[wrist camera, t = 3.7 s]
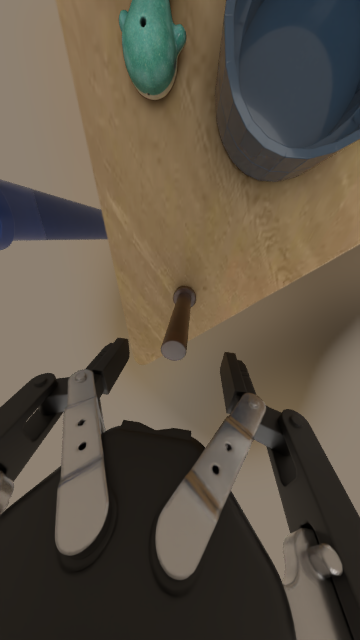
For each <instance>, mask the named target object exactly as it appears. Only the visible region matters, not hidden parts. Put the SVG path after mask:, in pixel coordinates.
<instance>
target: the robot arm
mask: <svg viewBox="0 0 360 640" xmlns="http://www.w3.org/2000/svg"><path fill="white" fill-rule="evenodd" d="M128 359H129V343H128V339H124V338H117V339H116V341H115V342H114V343H110V344H108V345H107V346H105V347H104V348H103V349H102V350H101V352H100V353H99V354H98V356H96V357H95V359H94V360H93V361H92V362H91V363H90V364H89V365H88V367H87V368H86V369H84V370H80V371H77V372H75V373H74V374H72V375H71V376H70V377H67V378H59V379H56V377H55V376H54V374H52V373H45V374H41V375H38V376H36V377H35V378H33V379H31V380H30V381H29V382H28V383H27V384H26V385H25V386H24V387H22V389H20V390H19V391H18V392H17V393H16V394H15V395H14V396H12V398H10V399H9V400H8V401H7V402H6V403H5V404H4V405H3V406H1V407H0V640H360V517H359V515H358V513H357V512H356V510H355V508H354V506H353V504H352V502H351V500H350V499H349V497H348V495H347V493H346V491H345V489H344V487H343V486H342V484H341V482H340V480H339V478H338V476H337V475H336V473H335V471H334V469H333V467H332V465H331V464H330V462H329V460H328V458H327V456H326V454H325V453H324V450H323V449H322V447H321V445H320V443H319V441H318V439H317V438H316V436H315V434H314V432H313V430H312V428H311V426H310V425H309V423H308V421H307V420H306V419H305V418H304V417H303V416H302V415H301V414H299V413H298V412H295V411H294V410H289V409H286V410H283V412H282V413H281V412H279V411H276V410H274V409H271V408H269V407H268V406H266V405H265V403H264V402H263V400H262V399H261V398H259V397H258V396H257V395H256V393H255V390H254V387H253V384H252V382H251V379H250V377H249V374H248V371H247V368H246V366H245V364H244V363H243V362H242V361H240V360H237V358H236V355H235V354H234V353H229V352H225V353H224V356H223V360H222V363H221V367H220V374H221V381H222V387H223V394H224V399H225V406H226V413H228V414H230V415H229V417H228V416H227V417H226V419H225V420H224V421H223V423H222V425H221V426H220V427H219V429H218V430H217V432H216V433H215V435H214V437H213V438H212V439H211V441H210V442H209V444H208V445H207V447H206V448H205V447H204V446H203V445H202V444H201V443H200V442H199V441H197V440H196V439H194V438H193V437H191V431H189V430H183V429H176V428H171V429H164V430H154V429H152V428H150V427H148V426H146V425H144V424H142V423H139V422H133V421H127V420H123V422H122V425H121V426H117V427H114V428H111V429H109V430H107V431H105V426H104V421H103V414H102V408H101V402H100V397H101V395H102V394H109V392H110V390H111V389H112V387H113V385H114V384H115V382H116V380H117V378H118V377H119V375H120V373H121V372H122V370H123V368H124V366H125V365H126V363H127V361H128ZM37 408H38V409H37ZM36 409H37V410H36ZM35 410H36V412H35ZM33 412H35V413H34V414H33ZM63 412H64V418H63V420H64V421H63V441H62V463H61V466H60V467H59V468H58V469H56V470H55V471H54V472H53V473H51V474H50V475H49V476H48V477H46V478H45V479H44V480H43V481H41V482H40V483H39V484H38V485H36V486H35V487H34V488H33V489H31V490H30V491H29V492H27V493H26V494H25V495H24V496H22V497H21V498H20V499H19V500H17V501H16V502H15V503H14V504H12V505H11V506H10V507H9V508H8V509H6V507H7V506H8V504H9V499H10V497H11V495H12V493H13V490H14V483H13V482H14V480H15V479H16V478H17V476H18V475H19V473H20V472H21V471H22V469H23V468H24V466H25V465H26V464H27V462H28V461H29V459H30V458H31V457H32V455H33V454H34V452H35V451H36V450H37V448H38V447H39V445H40V444H41V443H42V441H43V440H44V438H45V437H46V436H47V434H48V433H49V431H50V430H51V429H52V427H53V425H54V424H55V423H56V422H57V420H58V419H59V417H60V416H61V415H62V413H63ZM32 414H33V415H32ZM31 415H32V416H31ZM30 416H31V417H30ZM29 417H30V418H29ZM28 418H29V420H28ZM27 420H28V421H27ZM26 421H27V422H26ZM253 440H256V441H258V442H260V443H262V444H264V445H266V447H267V450H268V454H269V457H270V461H271V465H272V468H273V472H274V476H275V479H276V483H277V486H278V490H279V494H280V497H281V501H282V504H283V508H284V512H285V515H286V519H287V523H288V526H289V530H290V534H289V535H287V536H286V538H285V540H284V544H283V553H284V560H285V574H284V578H283V580H282V581H281V579H280V576H279V574H278V572H277V570H276V568H275V566H274V564H273V562H272V560H271V559H270V557H269V555H268V553H267V552H266V550H265V548H264V546H263V545H262V543H261V541H260V540H259V538H258V536H257V535H256V533H255V531H254V530H253V528H252V526H251V524H250V522H249V521H248V519H247V517H246V516H245V514H244V513H243V510H242V509H241V507H240V505H239V504H238V502H237V500H236V498H235V497H234V495H233V493H232V492H231V489H232V486H233V484H234V482H235V480H236V477H237V475H238V473H239V471H240V469H241V467H242V464H243V462H244V460H245V458H246V455H247V453H248V451H249V449H250V447H251V444H252V442H253ZM5 509H6V510H5ZM4 510H5V511H4ZM3 511H4V512H3Z"/></svg>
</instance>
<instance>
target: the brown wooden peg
mask: <svg viewBox="0 0 360 640" xmlns="http://www.w3.org/2000/svg"><path fill="white" fill-rule="evenodd" d="M173 301H174V303H175V307H174V310H173V313H172V316H171V319H170V322H169V325H168V328H167V331H166V334H165V337H164V340H163V343H162V346H161V352H162V354H163V356H164V357H165V358H167V359H169V360H173V361H176V360H180V359H182V358H183V357H184V356H185V355H186V350H187V339H188V329H189V319H190V308H191V307H192V306H193V305H194V304H195V301H196V294H195V292H194V290H193V289H192V288H190V287H188V286H182V287H179V288H178V289H177V290H176V291H175V293H174V296H173Z"/></svg>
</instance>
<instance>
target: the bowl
mask: <svg viewBox="0 0 360 640" xmlns="http://www.w3.org/2000/svg"><path fill="white" fill-rule="evenodd" d="M215 98H216V118H217V124H218V128H219V132H220V136H221V140H222V143H223V145H224V147H225V149H226V151H227V153H228V155H229V156H230V158H231V160H232V161H233V163H234V164H235V165H236V166H237V167H238V168H239V169H240V170H241V171H242V172H243V173H245V174H246V175H248V176H251V177H253V178H255V179H257V180H260V181H273V182H276V181H277V182H278V181H282V180H286V179H290V178H294V177H297V176H299V175H300V174H302V173H304V172H306V171H308V170H310V169H312V168H313V167H315V166H317V165H318V164H320V163H322V162H323V161H325V160H327V159H328V158H330V157H332V156H333V155H335V154H337V153H338V152H340V151H341V150H343V149H345V148H346V147H348V146H350V145H351V144H353V143H355V142H356V141H358V140H360V0H226V6H225V14H224V22H223V30H222V39H221V47H220V55H219V63H218V72H217V80H216V88H215Z"/></svg>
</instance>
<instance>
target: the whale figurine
mask: <svg viewBox="0 0 360 640" xmlns="http://www.w3.org/2000/svg"><path fill="white" fill-rule="evenodd" d="M119 25H120V29H121V31H122V46H123V55H124V60H125V64H126V68H127V71H128V73H129V76H130V78H131V80H132V82H133V84H134V86H135V88H136V89H137V90H138V92H139V93H140V94H141V95H143V96H144V97H146V98H148V99H153V100H157V99H161V98H163V97H164V96H166V95H167V94H168V92H169V91H170V89H171V88H172V86H173V84H174V81H175V77H176V73H177V59H178V56H179V54H180V52H181V51H182V49H183V48H184V46H185V43H186V32H185V29H184V27H183V26H182V25H181V24H178V25H175V24H174V23H173V21H172V15H171V8H170V2H169V0H132V3H131V5H130V8H129V11H128V12H127V11H126V10H122V11H121V12H120V15H119Z"/></svg>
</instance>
